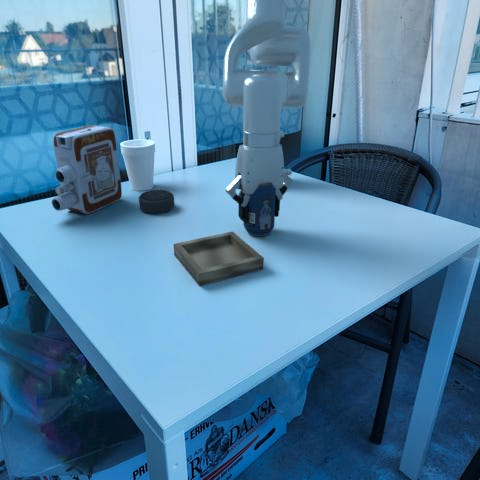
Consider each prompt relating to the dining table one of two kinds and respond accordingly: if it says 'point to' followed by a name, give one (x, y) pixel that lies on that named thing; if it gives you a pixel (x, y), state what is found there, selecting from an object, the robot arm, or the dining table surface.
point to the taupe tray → (217, 257)
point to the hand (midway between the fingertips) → (259, 217)
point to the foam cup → (139, 163)
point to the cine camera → (86, 169)
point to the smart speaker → (156, 201)
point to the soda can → (261, 210)
